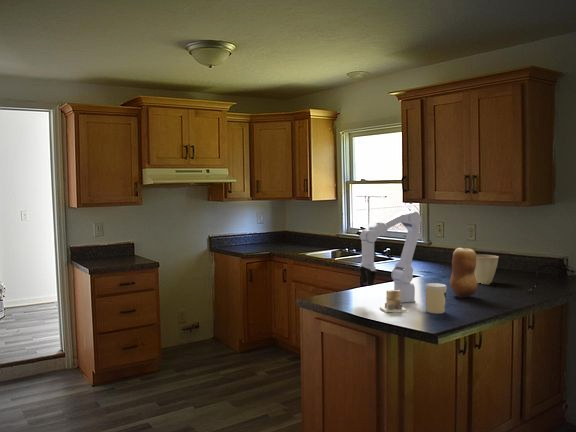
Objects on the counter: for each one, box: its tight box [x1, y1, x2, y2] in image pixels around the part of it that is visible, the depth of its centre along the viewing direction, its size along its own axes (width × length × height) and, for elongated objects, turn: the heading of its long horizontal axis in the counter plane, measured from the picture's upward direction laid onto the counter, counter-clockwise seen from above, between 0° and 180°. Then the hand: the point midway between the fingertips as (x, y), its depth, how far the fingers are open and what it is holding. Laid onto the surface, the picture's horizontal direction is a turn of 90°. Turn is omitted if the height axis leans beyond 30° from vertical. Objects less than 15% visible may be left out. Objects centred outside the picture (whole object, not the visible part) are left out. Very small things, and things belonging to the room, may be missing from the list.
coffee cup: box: [424, 282, 448, 314], centre depth 236 cm, size 9×9×12 cm
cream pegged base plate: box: [379, 302, 408, 314], centre depth 237 cm, size 10×7×3 cm
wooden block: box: [385, 289, 402, 309], centre depth 237 cm, size 6×2×8 cm, turn 102°
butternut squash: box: [449, 247, 478, 299], centre depth 266 cm, size 14×13×25 cm
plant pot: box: [474, 254, 500, 285], centre depth 305 cm, size 15×15×16 cm
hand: (367, 283), depth 248 cm, fingers open, 7 cm apart
